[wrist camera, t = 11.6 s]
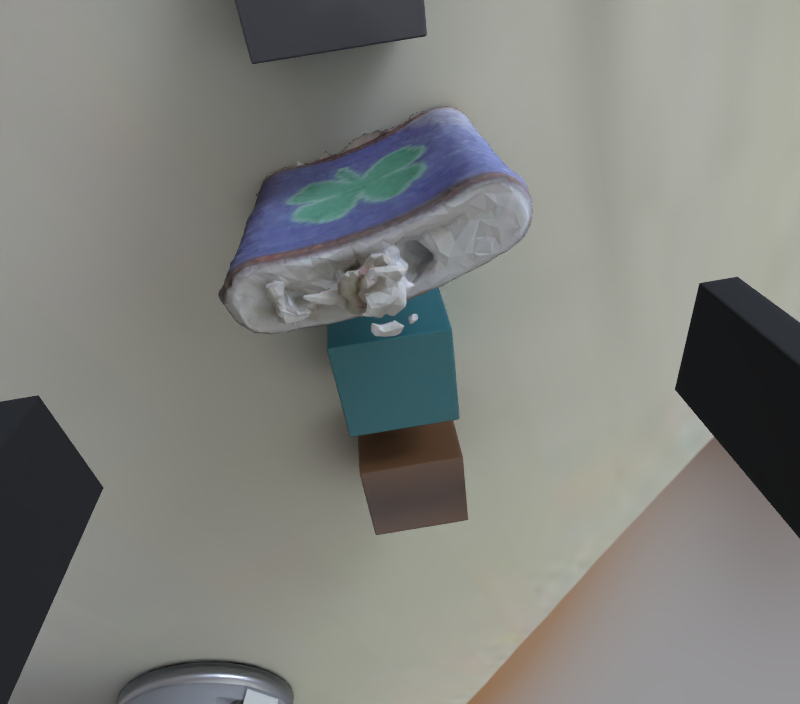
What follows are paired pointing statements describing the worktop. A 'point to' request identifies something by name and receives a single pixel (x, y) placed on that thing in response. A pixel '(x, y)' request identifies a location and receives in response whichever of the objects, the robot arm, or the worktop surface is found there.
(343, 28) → the block
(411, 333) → the block
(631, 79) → the worktop surface
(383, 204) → the flask
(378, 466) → the block
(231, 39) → the worktop surface
